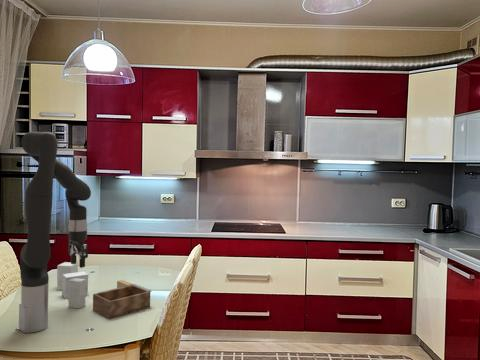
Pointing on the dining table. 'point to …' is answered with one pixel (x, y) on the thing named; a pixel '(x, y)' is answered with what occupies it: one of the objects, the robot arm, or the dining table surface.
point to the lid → (124, 283)
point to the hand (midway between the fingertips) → (77, 265)
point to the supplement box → (65, 272)
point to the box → (121, 301)
